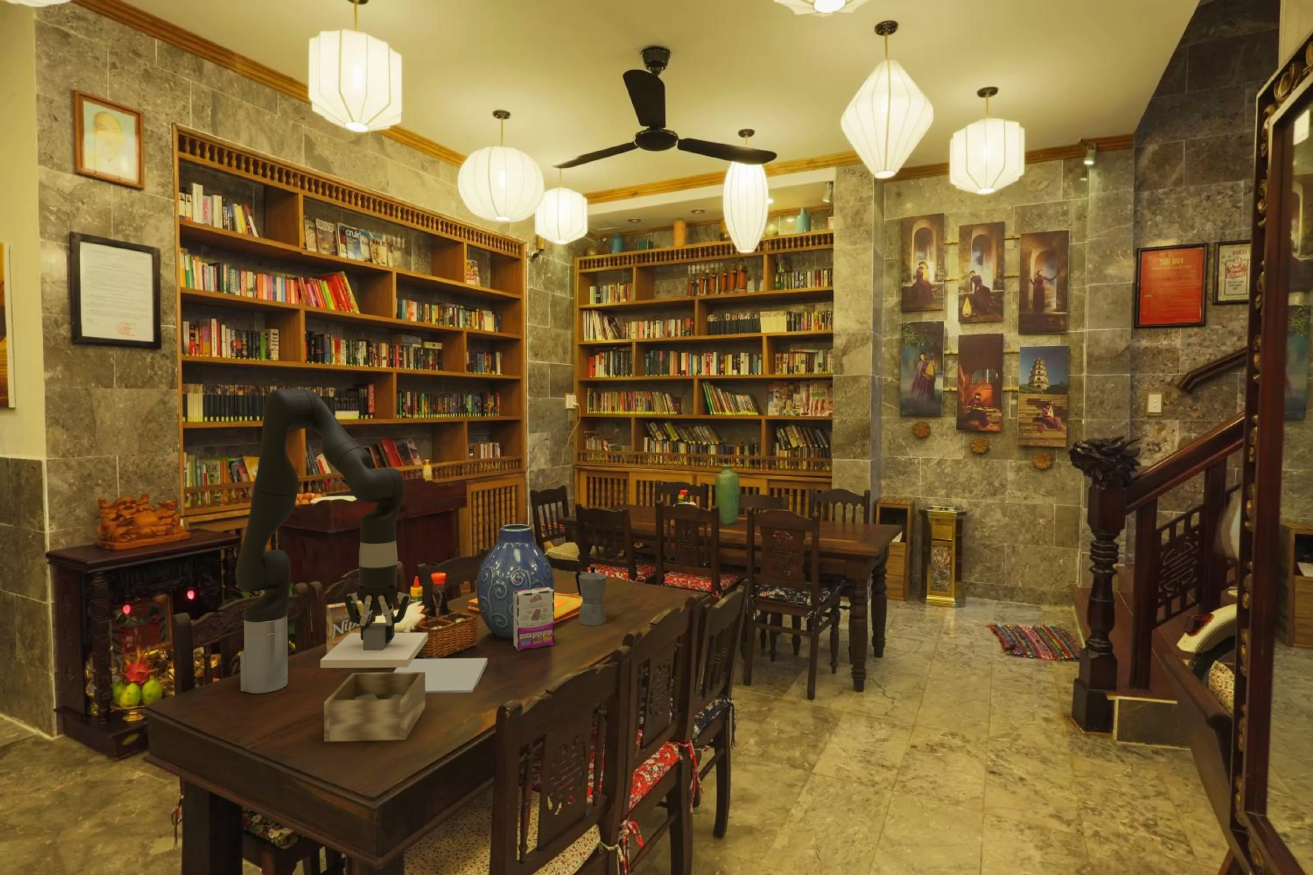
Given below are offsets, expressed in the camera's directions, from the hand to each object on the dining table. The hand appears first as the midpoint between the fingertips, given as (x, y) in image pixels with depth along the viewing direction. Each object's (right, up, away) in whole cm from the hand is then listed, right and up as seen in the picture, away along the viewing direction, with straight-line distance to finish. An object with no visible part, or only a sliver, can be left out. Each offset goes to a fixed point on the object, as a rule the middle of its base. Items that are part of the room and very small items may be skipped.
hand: (377, 641), depth 150 cm
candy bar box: (+24, -17, +54) cm, 62 cm away
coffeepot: (+38, -17, +80) cm, 90 cm away
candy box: (-25, -17, +42) cm, 52 cm away
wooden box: (0, -19, +1) cm, 19 cm away
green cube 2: (+3, -18, +4) cm, 18 cm away
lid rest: (+4, -18, +28) cm, 33 cm away
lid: (0, -2, 0) cm, 3 cm away
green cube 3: (-4, -18, +4) cm, 18 cm away
